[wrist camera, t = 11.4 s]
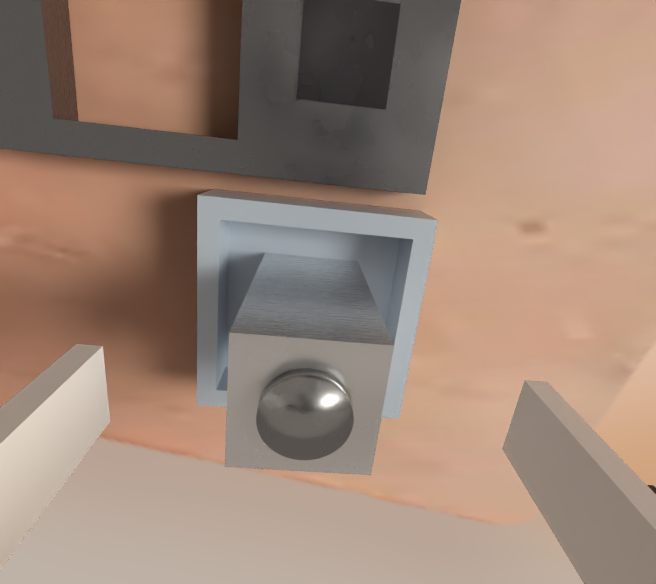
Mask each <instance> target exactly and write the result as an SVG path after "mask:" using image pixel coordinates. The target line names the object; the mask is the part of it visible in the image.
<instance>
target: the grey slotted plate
mask: <svg viewBox="0 0 656 584" xmlns="http://www.w3.org/2000/svg"><path fill="white" fill-rule="evenodd" d="M460 3H461V0H242V24H241V54H240V84H239V115H238V140H235V139H226V138H217V137H209V136H200V135H191V134H183V133H174V132H166V131H157V130H148V129H140V128H131V127H122V126H114V125H105V124H96V123H88V122H79V121H78V112H77V101H76V90H75V78H74V67H73V55H72V44H71V32H70V21H69V9H68V0H0V148H2V149H12V150H21V151H30V152H39V153H48V154H57V155H66V156H75V157H85V158H94V159H103V160H112V161H121V162H130V163H139V164H149V165H158V166H167V167H176V168H185V169H194V170H203V171H212V172H222V173H231V174H240V175H249V176H258V177H267V178H276V179H285V180H295V181H304V182H313V183H322V184H331V185H340V186H349V187H359V188H368V189H377V190H386V191H395V192H404V193H413V194H422V195H425V194H426V189H427V183H428V178H429V172H430V167H431V161H432V156H433V150H434V145H435V140H436V134H437V129H438V123H439V118H440V112H441V107H442V101H443V96H444V91H445V85H446V80H447V74H448V69H449V63H450V58H451V52H452V47H453V41H454V36H455V31H456V25H457V20H458V14H459V9H460Z"/></svg>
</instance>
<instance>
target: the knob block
mask: <svg viewBox="0 0 656 584" xmlns="http://www.w3.org/2000/svg"><path fill="white" fill-rule="evenodd" d="M393 350H394V344H393V342H392V339H391V337H390V335H389V332H388V330H387V328H386V325H385V323H384V321H383V318H382V316H381V314H380V311H379V309H378V307H377V304H376V302H375V300H374V297H373V295H372V293H371V291H370V288H369V286H368V284H367V281H366V279H365V277H364V274H363V272H362V270H361V267H360V265H359V263H358V261H348V260H337V259H327V258H316V257H306V256H296V255H285V254H275V253H265V254H264V257H263V259H262V261H261V263H260V265H259V268H258V270H257V272H256V274H255V276H254V279H253V281H252V283H251V285H250V287H249V290H248V292H247V294H246V296H245V298H244V301H243V303H242V305H241V307H240V309H239V312H238V314H237V316H236V318H235V320H234V323H233V325H232V327H231V329H230V331H229V349H228V382H227V414H226V446H225V467H237V468H254V469H272V470H290V471H308V472H325V473H343V474H361V475H371V472H372V466H373V461H374V455H375V450H376V444H377V439H378V433H379V427H380V422H381V416H382V411H383V405H384V400H385V394H386V389H387V383H388V378H389V372H390V367H391V361H392V355H393Z"/></svg>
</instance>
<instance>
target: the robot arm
mask: <svg viewBox="0 0 656 584" xmlns="http://www.w3.org/2000/svg"><path fill="white" fill-rule="evenodd" d="M109 422H110V415H109V405H108V395H107V384H106V374H105V364H104V353H103V346H97V345H85V344H75V345H74V346H73V347H72V348H71V349H70V350H68V351H67V352H66V353H65V354H64V355H62V356H61V357H60V358H59V359H58V360H56V361H55V362H54V363H53V364H52V365H50V366H49V367H48V368H47V369H46V370H45V371H43V372H42V373H41V374H40V375H39V376H37V377H36V378H35V379H34V380H33V381H31V382H30V383H29V384H28V385H27V386H26V387H24V388H23V389H22V390H21V391H20V392H18V393H17V394H16V395H15V396H14V397H12V398H11V399H10V400H9V401H8V402H6V403H5V404H4V405H3V406H2V407H1V408H0V570H1V569H2V567H3V566H4V565H5V563H6V562H7V560H8V559H9V558H10V556H11V555H12V553H13V552H14V551H15V550H16V548H17V547H18V546H19V544H20V543H21V541H22V540H23V539H24V537H25V536H26V534H27V533H28V532H29V531H30V529H31V528H32V527H33V525H34V524H35V522H36V521H37V520H38V518H39V517H40V516H41V514H42V513H43V511H44V510H45V509H46V508H47V506H48V505H49V504H50V502H51V501H52V499H53V498H54V497H55V495H56V494H57V493H58V491H59V490H60V489H61V487H62V486H63V485H64V483H65V482H66V481H67V479H68V478H69V476H70V475H71V474H72V472H73V471H74V470H75V468H76V467H77V466H78V464H79V463H80V461H81V460H82V459H83V457H84V456H85V455H86V453H87V452H88V451H89V449H90V448H91V447H92V445H93V444H94V443H95V441H96V440H97V439H98V437H99V436H100V434H101V433H102V432H103V430H104V429H105V428H106V426H107V425H108V424H109ZM503 451H504V452H505V454H506V456H507V457H508V459H509V461H510V462H511V464H512V466H513V467H514V469H515V471H516V472H517V474H518V476H519V477H520V479H521V480H522V482H523V484H524V485H525V487H526V489H527V490H528V492H529V494H530V495H531V497H532V499H533V500H534V502H535V504H536V505H537V507H538V508H539V510H540V512H541V513H542V515H543V517H544V518H545V520H546V522H547V523H548V525H549V527H550V528H551V530H552V532H553V533H554V535H555V536H556V538H557V540H558V541H559V543H560V545H561V546H562V548H563V550H564V551H565V553H566V554H567V556H568V558H569V559H570V561H571V563H572V565H573V566H574V568H575V569H576V571H577V573H578V574H579V576H580V578H581V579H582V581H583V582H584V584H656V488H655V487H654V486H652V485H646V484H645V483H644V482H643V481H642V480H641V479H640V478H639V477H638V475H636V473H635V472H634V471H633V470H632V469H631V468H630V467H629V466H628V465H627V464H626V463H625V462H624V461H623V460H622V459H621V458H620V457H619V456H618V455H617V454H616V453H615V452H614V451H613V450H612V449H611V448H610V447H609V445H608V444H607V443H606V442H604V440H603V439H602V438H601V437H600V436H599V435H598V434H597V433H596V432H595V431H594V430H593V429H592V428H591V427H590V426H589V425H588V424H587V423H586V421H585V420H584V419H583V418H582V417H581V416H580V415H579V414H578V413H577V412H576V411H575V410H574V409H573V408H572V407H571V406H570V405H569V404H568V403H567V402H566V401H565V400H564V399H563V398H562V397H561V396H560V395H559V393H558V392H557V391H556V390H555V389H554V388H553V387H552V386H551V385H550V384H549V383H548V382H539V381H526V380H525V381H524V384H523V387H522V390H521V393H520V396H519V399H518V403H517V406H516V409H515V412H514V415H513V418H512V421H511V424H510V427H509V430H508V433H507V436H506V439H505V442H504V445H503Z"/></svg>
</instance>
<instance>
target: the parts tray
mask: <svg viewBox="0 0 656 584" xmlns="http://www.w3.org/2000/svg"><path fill="white" fill-rule="evenodd" d="M437 224H438V220H437V219H435V218H433V217H431V216H429V215H427V214H426V213H424V212H422V211H416V210H407V209H397V208H388V207H379V206H369V205H360V204H350V203H341V202H332V201H322V200H313V199H303V198H294V197H285V196H275V195H266V194H256V193H247V192H238V191H228V190H219V189H212V190H209V191H207V192H204V193H201V194H199V195H197V405H205V406H220V407H227V382H228V349H229V331H230V329H231V327H232V325H233V323H234V320H235V318H236V316H237V314H238V312H239V309H240V307H241V305H242V303H243V301H244V298H245V296H246V294H247V292H248V290H249V287H250V285H251V283H252V281H253V279H254V276H255V274H256V272H257V270H258V268H259V265H260V263H261V261H262V259H263V257H264V254H265V253H275V254H285V255H296V256H306V257H316V258H327V259H337V260H348V261H358V263H359V265H360V267H361V270H362V272H363V274H364V277H365V279H366V281H367V284H368V286H369V288H370V291H371V293H372V295H373V297H374V300H375V302H376V304H377V307H378V309H379V311H380V314H381V316H382V318H383V321H384V323H385V325H386V328H387V330H388V332H389V335H390V337H391V339H392V342H393V344H394V350H393V355H392V361H391V367H390V372H389V378H388V383H387V389H386V394H385V400H384V405H383V411H382V416H381V417H383V418H398V419H399V416H400V411H401V406H402V401H403V396H404V391H405V386H406V381H407V375H408V370H409V365H410V360H411V355H412V350H413V345H414V340H415V335H416V330H417V325H418V320H419V315H420V310H421V305H422V300H423V295H424V290H425V284H426V279H427V274H428V269H429V264H430V259H431V254H432V249H433V244H434V239H435V234H436V229H437Z"/></svg>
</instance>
